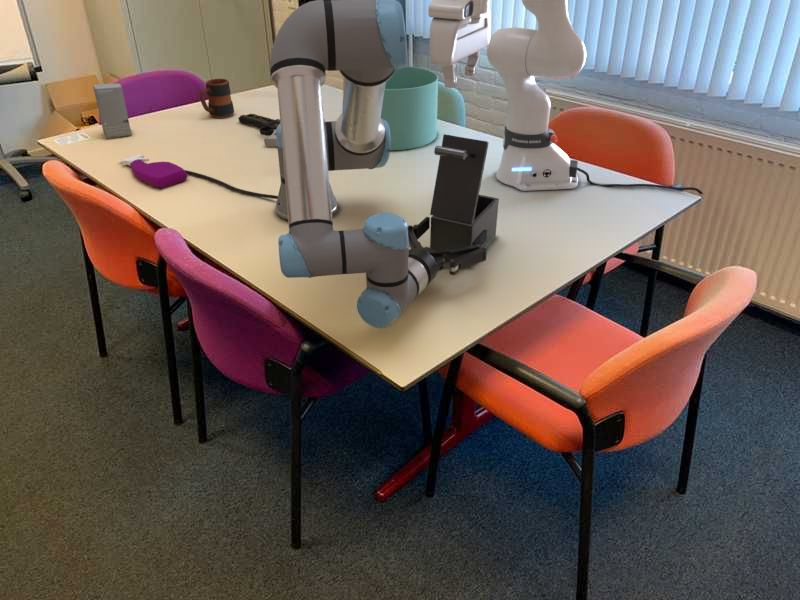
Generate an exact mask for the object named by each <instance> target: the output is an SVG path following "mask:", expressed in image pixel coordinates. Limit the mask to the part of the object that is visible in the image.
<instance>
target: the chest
mask: <svg viewBox="0 0 800 600" xmlns="http://www.w3.org/2000/svg"><path fill="white" fill-rule="evenodd" d="M499 201H500V199H499V197H498V198H497V197H493V196H488V195H484V194H479V197H478V202H477V207H476V212H475V218H474V223H473V224H469V223H465V222H460V221H456V220H451V219H447V218H442V217H438V216H433V215H431V217H430V232H429V233H430V234H429V235H430V237H429V248H431V249H437V250H441V249H445V248H447V249H448V250H451V249H456V248H461V247H465V246H470V245H472V242H473V241H474V240H475V239H476V238H477V236H478V235H479V234H480V233H481V232H482V231H483V230H487V239H486V242H485V248H487V249H488V247H489V246H490V245H491V244H492V242H493V241H494V240H495V239H496V235H497V225H498V224H497V223H498V213H499V204H500V203H499ZM443 257H444V254H443ZM471 267H472V266H470V267H468V268H469V269H470V268H471Z"/></svg>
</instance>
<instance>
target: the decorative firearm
mask: <svg viewBox="0 0 800 600" xmlns="http://www.w3.org/2000/svg"><path fill="white" fill-rule="evenodd" d="M238 123H242V124H245V125H248V126H255V127H257V128H259V133H260V135H262V136H266V138H264V139H263V143H264V146H266V147H276V142H277V140H276V129H277V127H278V125H279V124H280V118H275V119H273V118H270V117H266V116H263V115H258V114H255V113H248V114H242V115H239V117H238Z"/></svg>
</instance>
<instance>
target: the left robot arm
mask: <svg viewBox="0 0 800 600" xmlns="http://www.w3.org/2000/svg"><path fill="white" fill-rule="evenodd" d="M406 32H407V31H406V24H405V16H404V9H403V6H402V4H401V2H400V1H398V0H312V1H308V2H306V3H303V4H302V5H300V6H298V7H297V8H296V9H294V10H293V11H292V12H291V13H290V14H289V16H288V17H287V18H286V19H285V20H284V21H283V23H282V24H281V27H280V28H279V29H278V31H277V34H276V36H275V38H274V41H273V45H272V48H271V52H270V60H269V70H270V71H269V73H270V75H269V76H270V82H271V84H272V85H273V87H275V88H276V89H277V99H278V110H279V119H280V124H279V125H278V127H277V129H276V140H277V142H276V146H275V147H276V148H277V156H278V157H277V158H278V167H279V175H280V186H279V191H278V194H277V195H274V194H266V193H259V192H253V191H249V190H245V189H241V188H238V187H235V186H232V185H231V184H228V183H227V182H224V181H221V180H219V179H217V178H214V177H211V176H209V175H206V174H202V173H198V172H194V171H191V170H187V169H184V170H185V171H186V172H187V175H192V176H194V177H199V178H201V179H205V180H208V181H211V182H214V183H215V184H218V185H221V186H223V187H225V188H227V189H230V190H232V191H234V192H238V193H241V194H245V195H249V196H254V197H260V198H264V199H265V198H266V199H274V200H276V205H275V208H276V214H277V216H278V217H279V218H281V219H283V220H284V221H287V222H288V233H284V234H281V235H279V237H278V239H277V240H278V242H277V244H278V259H279V266H280V271H281V274H282V275H283V276H284V277H285V278H288V279H291V278H307V279H311V278H316V277H327V276H328V277H329V276H338V275H339V276H340V275H353V274H355V275H356V274H365V280H366V283H365V284H366V288H365V289H364V290H363V291H362V292H361V294H360V296H359V297H358V298H357V301H356V310H357V313H358V315H359V317H360V318H361V319H362V321H363V322H364V323H366V324H367V325H369V326H370V327H374V328H377V329H384V328H387V327H389V326H390V325H392V324H393V322H395V321H396V320H398V319H399V318H400V317H401V316H402V314H403V313H404V312H405V311H406V310H407V308H408V307H410V305H411V304H412V303H413V302H414V301H415V299H416V298H417V297H418V296H419V295H420V294H421V293H422V292H423V291H424V290H425V289H426V288H427V287H428V286H429V285H430V284H431V282H432V281H434V279H435V278H436V276H437V275H438V273H439V272H441V271H443V270H447V271H449V275H451V276H455V275H457V274H458V273H459V272H460V271H463V270H465V269H467V268H468V267H470V266H471V267H472V266H476V265H478V264H480V263H483V262H485V261H487V255H488V247H487V248H485V242H486V239H487V230H483V231H482V232H481V233H480V234H479V235H478V236H477V238H476V239H475V240H474V241H473V242H472V245H470V246H465V247H461V248H456V249H451V250H448V249H447V248H445V249H441V250H437V249H431V248H430V246H429V247H428V246H422V244H421V241H419V239H420V238H421V237H422V236H423V235H424V234H425V233H427V231H428V230H429V229H431V217H430V216H425V217H424V218H423V219H422V220H421V221H420V222H419V223H417V224H414V225H409V224H408V222H407V220H406V219H405V218H404V217H402V216H401V215H399V214H396V213H394V212H393V213H392V212H379V213H377V214H371V215H370V216H368V217H367V218H366V219H365V221H364V226H363V228H359V229H344V230H343V229H342V230H334V225H333V223H334V222H333V221H334V220H333V215H335V214H336V212H337V211H338V201H337V198H336V196H335V194H334V192H333V188H332V186H331V184H330V176H329V175H330V174H329V172H332V171H333V172H334V171H350V170H373V169H380V168H383V167H385V166H386V165H387V163H388V161H389V158H390V154H391V150H389V149H390V129H389V125H388V123H387V122H386V121H385V120H384V119H381V112H382V105H383V98H384V92H385V85H386V81H388V80H389V79H390V78H391V77H392V75H393V74H394V72H395V69H400V68H404V67H406V66H408V59H409V58H408V43H407V33H406ZM326 71H328V72H335V71H336V72H337V71H339V74H341V76H342V78H343V84H342V109H341V110H342V111H341V112H342V113H340V114H339V116H338V118H337V119H336V120H331V121H326V120H325V117H324V108H323V107H324V106H323V96H322V86H323V85H324V84H325V83H326V81H327V75H326ZM443 254H444V257H443ZM471 267H470V268H471Z"/></svg>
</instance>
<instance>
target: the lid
mask: <svg viewBox="0 0 800 600" xmlns="http://www.w3.org/2000/svg"><path fill="white" fill-rule="evenodd" d="M489 144H490V142H489V141H486V140H481V139H475V138H469V137H463V136H457V135H450V134H445V133H444V134H443V137H442V142H441V145H435V147H434V151H433V153H434V155H435V156H439V159H438V165H437V170H436V171H437V172H436V177H435V184H434V189H433V195H432V200H431V207H430V212H429V215H430V216H438V217H442V218H447V219H451V220H456V221H460V222H465V223H469V224H473V223H474V218H475V212H476V207H477V202H478V197H479V195H480V191H481V185H482V180H483V176H484V175H483V174H484V171H485V165H486V161H487V160H486V159H487V154H488V149H489Z"/></svg>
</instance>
